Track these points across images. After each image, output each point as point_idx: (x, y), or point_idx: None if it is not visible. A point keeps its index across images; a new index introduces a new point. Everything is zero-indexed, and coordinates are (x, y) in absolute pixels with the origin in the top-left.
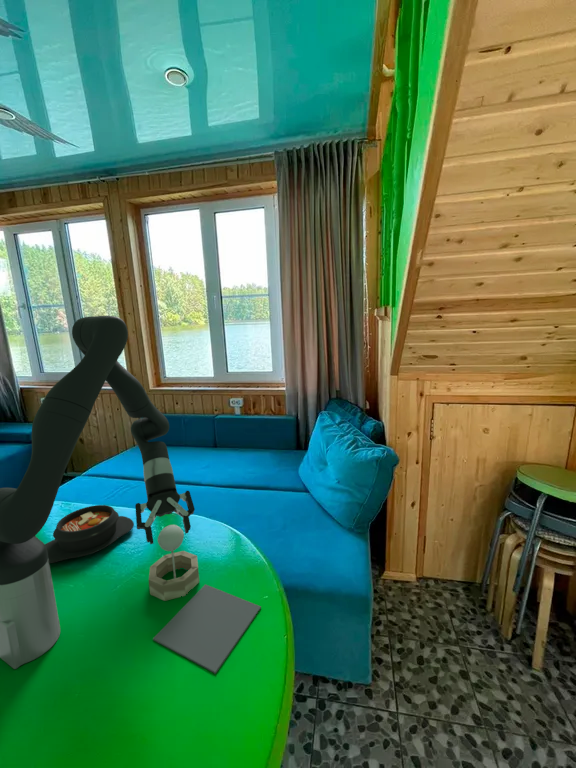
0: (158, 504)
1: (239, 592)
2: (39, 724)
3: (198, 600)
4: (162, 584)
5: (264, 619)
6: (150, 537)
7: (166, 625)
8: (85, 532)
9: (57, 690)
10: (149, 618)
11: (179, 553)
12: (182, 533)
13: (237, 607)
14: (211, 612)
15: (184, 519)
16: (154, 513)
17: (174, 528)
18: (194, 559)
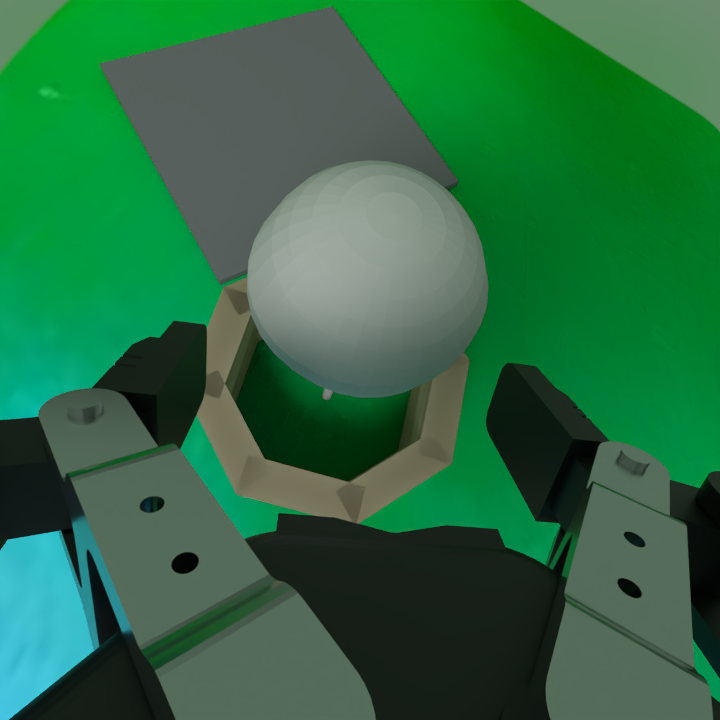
0: (612, 654)
1: (120, 168)
2: (689, 154)
3: None
4: None
5: (124, 36)
6: (542, 378)
7: None
8: None
9: (677, 204)
10: None
11: (268, 480)
12: (272, 212)
13: (172, 110)
14: (262, 148)
15: (157, 380)
16: (610, 516)
17: (351, 180)
18: (211, 363)
